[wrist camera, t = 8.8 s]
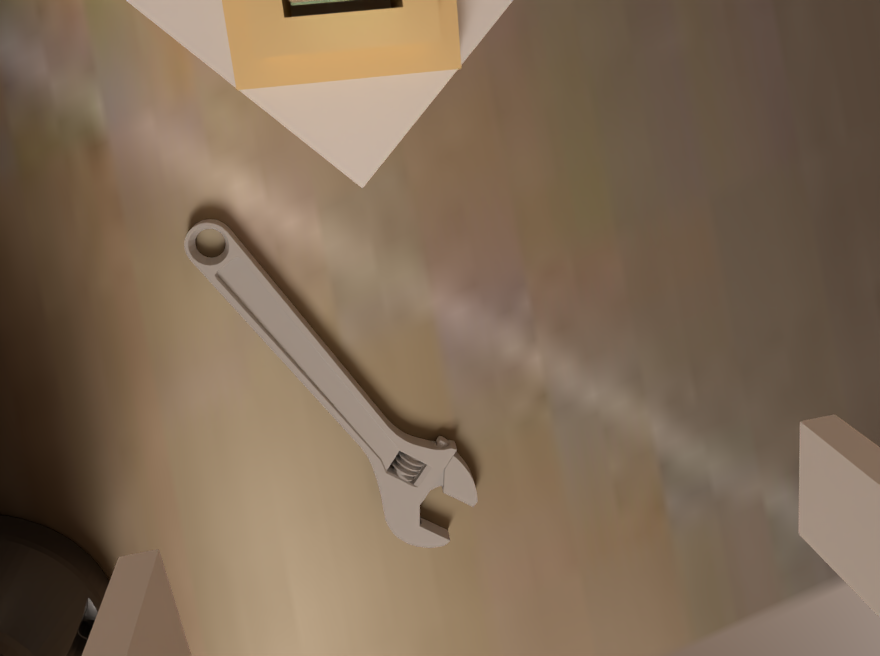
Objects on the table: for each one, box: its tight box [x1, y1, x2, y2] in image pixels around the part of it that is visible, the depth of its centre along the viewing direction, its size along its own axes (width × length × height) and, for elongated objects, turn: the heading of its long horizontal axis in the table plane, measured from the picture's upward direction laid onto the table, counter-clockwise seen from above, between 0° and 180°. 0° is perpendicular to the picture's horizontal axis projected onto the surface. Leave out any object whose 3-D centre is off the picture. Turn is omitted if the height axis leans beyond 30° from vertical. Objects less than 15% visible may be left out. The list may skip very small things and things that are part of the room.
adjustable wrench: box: [184, 219, 477, 548], centre depth 50 cm, size 25×6×2 cm, turn 31°
